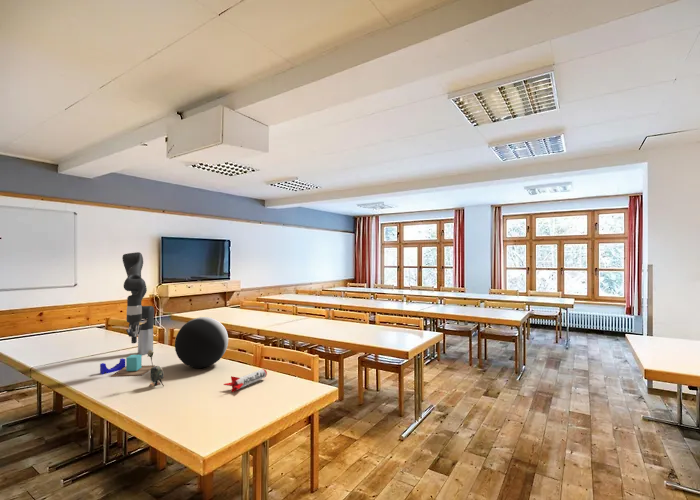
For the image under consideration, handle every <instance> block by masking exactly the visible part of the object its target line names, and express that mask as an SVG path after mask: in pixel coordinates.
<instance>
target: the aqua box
mask: <svg viewBox="0 0 700 500" xmlns="http://www.w3.org/2000/svg"><path fill="white" fill-rule="evenodd" d="M142 357H143V355H138V354H130V355H129V356H127V357H126V358H125V367H126V371H137V370H139V369H140V368H142V366H143V365H142V363H143V362H142Z"/></svg>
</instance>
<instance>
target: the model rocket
mask: <svg viewBox="0 0 700 500" xmlns="http://www.w3.org/2000/svg"><path fill="white" fill-rule="evenodd" d="M267 375H268V372H267V370H266V369H265V368H261V369H258V370H256V371H253V372H251V373H248V374H246V375H243V376H240V377H237V376H230V379H231V382H227V383H223V386H226V387H227V386H229V387H231V392H232V393H233V392H236V391H238V390H240V389H242V388H244V387H247V386H248V385H251V384H254V383H256V382H258V381H261V380H262V379H265V378H266V377H267Z"/></svg>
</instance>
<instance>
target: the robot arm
mask: <svg viewBox="0 0 700 500" xmlns="http://www.w3.org/2000/svg"><path fill="white" fill-rule="evenodd" d="M122 263H123V266H124V270H125V273H126V276H127V277H126V279H125V280H124V281H123V289H124V290H125V291H126V292H130V294H131V295H128V296H127V299H126V301H127V303H126V305H127V306H126V323H128V328H126V333H127V335H128V337H129V338H130V337H131V344H136V343H137V355H142V356H146V355H148V354H147V353H148V351H149V350H152V351H153V352H154V324H155V322H154V321H155V320H154V319H155V307H154V306H153V305H142V302H143V298H144V297H145V295H146V294H147V284H146V281H145V280H144V278H142V270H143V265H144V257H143V254H142V253H141V252H140V251H139V252H137V251H136V252H129V253H123V255H122ZM142 320H146V321H145V322H144V323H140V322H142Z"/></svg>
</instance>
